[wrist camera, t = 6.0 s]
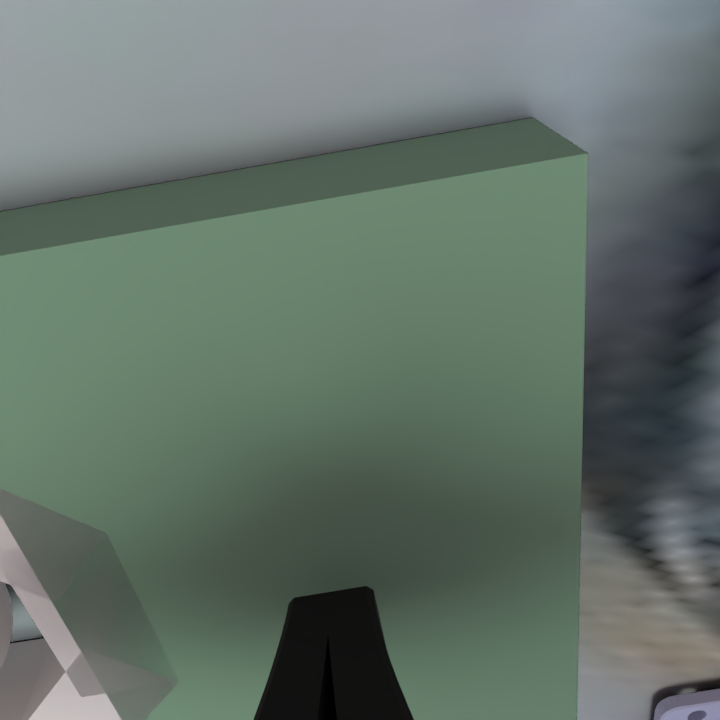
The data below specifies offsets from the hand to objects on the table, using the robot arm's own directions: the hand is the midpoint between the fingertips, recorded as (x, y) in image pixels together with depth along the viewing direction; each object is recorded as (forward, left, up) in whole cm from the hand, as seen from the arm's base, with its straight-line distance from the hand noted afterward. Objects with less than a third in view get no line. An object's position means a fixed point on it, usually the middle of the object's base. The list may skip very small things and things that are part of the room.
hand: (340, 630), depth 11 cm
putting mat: (+5, 0, -3) cm, 6 cm away
